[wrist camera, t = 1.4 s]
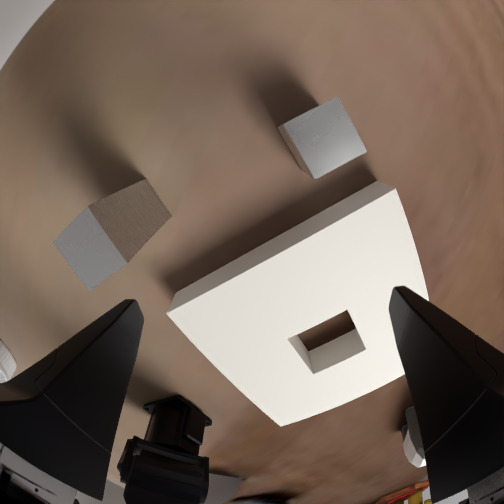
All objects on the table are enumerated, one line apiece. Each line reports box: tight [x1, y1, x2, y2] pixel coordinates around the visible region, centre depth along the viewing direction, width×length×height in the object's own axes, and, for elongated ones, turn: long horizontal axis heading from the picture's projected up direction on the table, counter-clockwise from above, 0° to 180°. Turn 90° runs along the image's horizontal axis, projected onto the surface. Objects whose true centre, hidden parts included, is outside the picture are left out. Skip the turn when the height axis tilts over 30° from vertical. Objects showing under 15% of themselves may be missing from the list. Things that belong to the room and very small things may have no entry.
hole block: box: [166, 181, 429, 426], centre depth 22 cm, size 18×18×3 cm
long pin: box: [53, 179, 172, 291], centre depth 16 cm, size 3×3×8 cm
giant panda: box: [401, 406, 426, 467], centre depth 26 cm, size 15×6×10 cm, turn 16°
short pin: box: [277, 97, 367, 179], centre depth 15 cm, size 3×3×4 cm
